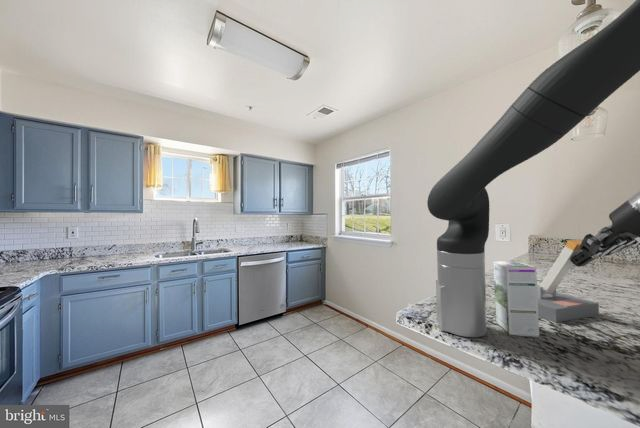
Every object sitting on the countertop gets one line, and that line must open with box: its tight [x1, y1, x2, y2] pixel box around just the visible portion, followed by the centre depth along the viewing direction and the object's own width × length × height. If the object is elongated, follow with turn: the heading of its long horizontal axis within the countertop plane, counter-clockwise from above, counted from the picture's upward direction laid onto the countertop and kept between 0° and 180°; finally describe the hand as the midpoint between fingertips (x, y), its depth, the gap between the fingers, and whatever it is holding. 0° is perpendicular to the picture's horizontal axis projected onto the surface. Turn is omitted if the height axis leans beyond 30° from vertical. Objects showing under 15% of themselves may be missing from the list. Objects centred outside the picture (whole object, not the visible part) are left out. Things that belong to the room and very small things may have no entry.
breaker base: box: [537, 285, 600, 323], centre depth 63 cm, size 14×14×6 cm
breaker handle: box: [539, 239, 583, 294], centre depth 60 cm, size 2×3×16 cm, turn 103°
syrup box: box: [493, 260, 540, 338], centre depth 52 cm, size 6×6×14 cm
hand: (576, 263), depth 57 cm, fingers closed
